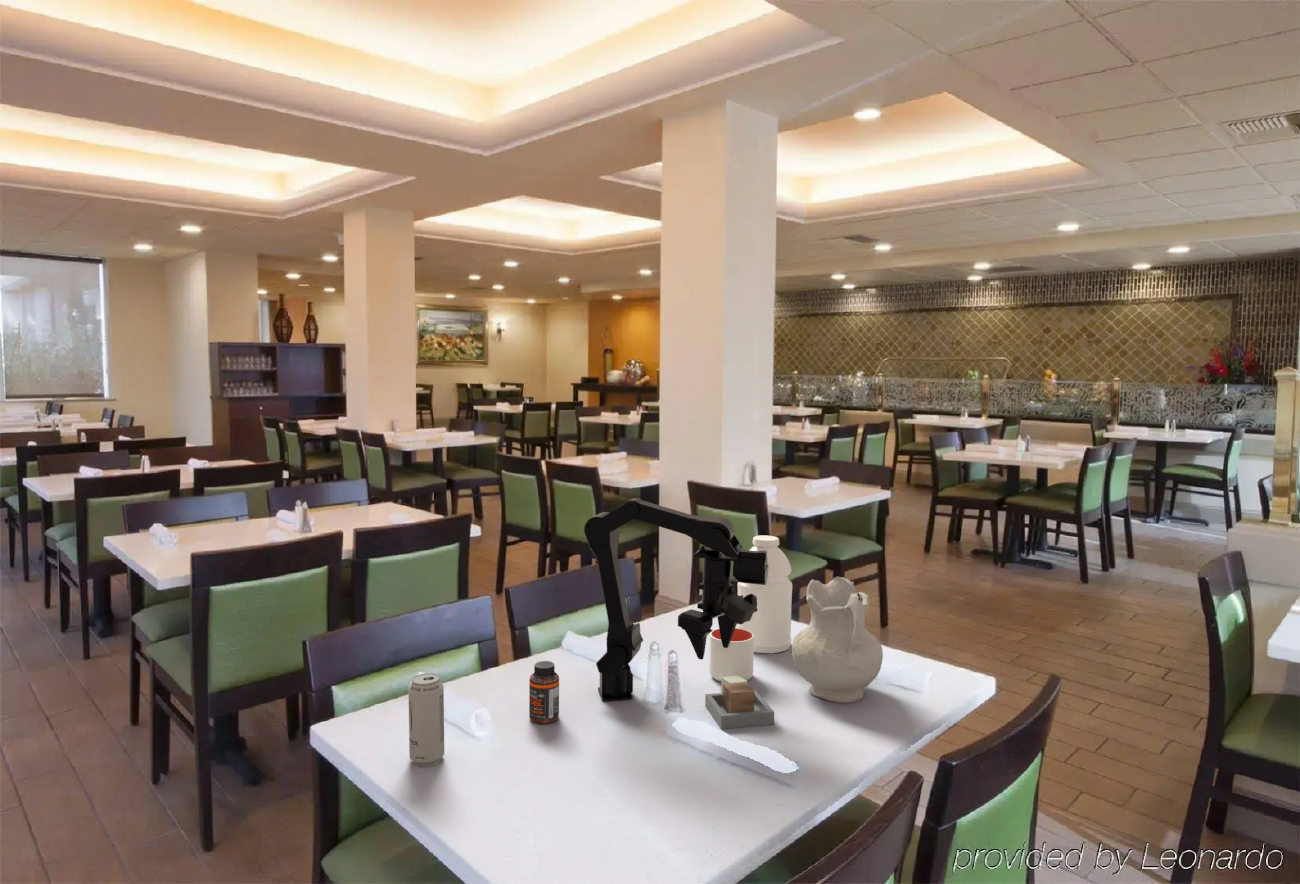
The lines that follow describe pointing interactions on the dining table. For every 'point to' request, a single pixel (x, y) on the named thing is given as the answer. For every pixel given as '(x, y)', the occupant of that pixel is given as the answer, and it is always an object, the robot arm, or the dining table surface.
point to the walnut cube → (738, 697)
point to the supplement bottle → (544, 693)
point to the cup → (732, 655)
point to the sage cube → (731, 680)
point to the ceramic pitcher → (837, 643)
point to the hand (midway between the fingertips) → (713, 653)
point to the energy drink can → (426, 719)
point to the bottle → (770, 600)
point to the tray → (742, 719)
